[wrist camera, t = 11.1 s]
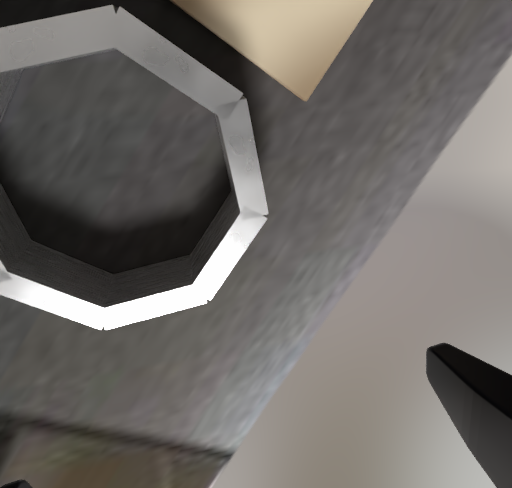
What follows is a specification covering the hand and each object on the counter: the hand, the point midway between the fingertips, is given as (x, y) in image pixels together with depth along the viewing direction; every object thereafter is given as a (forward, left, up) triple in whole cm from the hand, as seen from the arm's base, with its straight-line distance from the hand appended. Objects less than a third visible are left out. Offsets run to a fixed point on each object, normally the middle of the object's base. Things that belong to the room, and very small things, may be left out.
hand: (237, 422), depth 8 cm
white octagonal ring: (-4, 0, -13) cm, 13 cm away
